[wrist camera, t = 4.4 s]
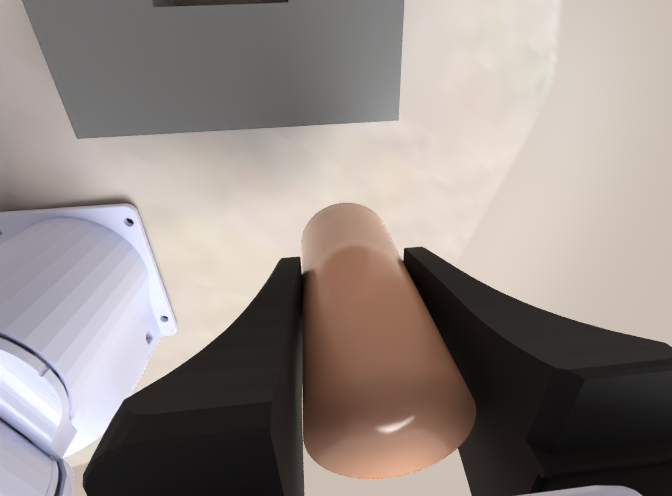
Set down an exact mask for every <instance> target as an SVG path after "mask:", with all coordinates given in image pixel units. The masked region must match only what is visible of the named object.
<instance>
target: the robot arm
mask: <svg viewBox="0 0 672 496" xmlns="http://www.w3.org/2000/svg"><path fill="white" fill-rule="evenodd" d="M127 218H130V219H131V220H132V221H133V222H134V224H131V223H129V222H128V221H127ZM0 230H1V231H2V233H1V232H0V496H73V493H74V485H75V479H74V472H73V470H72V468H71V466H70V465H69V463H67V462H66V461H65V460H64V459H62V458H64V457H66V456H69V455H71V454H73V453H75V452H77V451H79V450H81V449H83V448H84V447H86V446H87V445H89V444H90V443H92V442H93V441H94V440H96V439H97V438H98V437H99V436H101V435H102V434H103V433H104V432H105V433H104V435H103V437H102V439H101V441H100V443H99V445H98V447H97V449H96V450H95V452H94V454H93V456H92V458H91V460H90V462H89V464H88V466H87V468H86V470H85V472H84V474H83V488H84V490H85V492H86V494H87V496H304V473H303V472H304V471H303V439H302V438H303V437H302V384H303V359H302V271H301V261H300V257H290V258H282V259H281V260H280V261H279V262H278V264H277V266H276V267H275V269H274V271H273V272H272V274H271V276H270V277H269V279H268V280H267V282H266V283H265V285H264V286H263V287H262V289H261V290H260V292H259V293H258V294H257V296H256V297H255V298H254V299H253V301H252V302H251V303H250V304H249V306H248V307H247V308H246V309H245V310H244V312H243V313H242V314H241V315H240V316H239V317H238V318H237V319H236V320H235V321H234V322H233V323H232V324H231V325H230V326H229V327H228V328H227V329H226V330H225V331H224V332H223V333H222V334H221V335H219V336H218V337H217V338H216V339H215V340H213V341H212V342H211V343H210V344H209V345H207V346H206V347H205V348H204V349H203V350H201V351H200V352H199V353H197V354H196V355H195V356H193V357H192V358H190V359H189V360H188V361H186V362H185V363H183V364H182V365H180V366H179V367H177V368H176V369H175V370H173V371H172V372H170V373H168V374H167V375H165V376H164V377H162V378H160V379H159V380H157V381H155V382H154V383H152V384H150V385H149V386H147V387H145V388H143V389H142V390H140V391H138V392H137V393H135V394H133V392H134V390H135V388H136V386H137V384H138V382H139V380H140V378H141V376H142V374H143V372H144V370H145V368H146V366H147V364H148V362H149V360H150V358H151V356H152V354H153V352H154V350H155V348H156V346H157V344H158V342H159V340H160V338H161V336H169V335H174V334H175V333H176V331H177V329H178V326H177V323H176V320H175V317H174V315H173V312H172V309H171V306H170V303H169V300H168V297H167V294H166V292H165V289H164V286H163V283H162V280H161V277H160V274H159V271H158V269H157V266H156V263H155V260H154V257H153V254H152V251H151V248H150V246H149V243H148V240H147V237H146V234H145V231H144V228H143V226H142V223H141V220H140V217H139V214H138V211H137V209H136V208H135V207H134V206H133V205H131V204H126V203H124V204H109V205H95V206H80V207H66V208H51V209H37V210H22V211H8V212H0ZM403 262H404V264H405V266H406V268H407V270H408V272H409V274H410V276H411V278H412V280H413V282H414V284H415V286H416V288H417V290H418V292H419V294H420V296H421V297H422V299H423V301H424V303H425V305H426V307H427V309H428V311H429V313H430V315H431V317H432V319H433V321H434V323H435V325H436V327H437V329H438V331H439V333H440V334H441V336H442V338H443V340H444V342H445V344H446V346H447V348H448V350H449V352H450V354H451V356H452V358H453V360H454V362H455V364H456V366H457V368H458V370H459V372H460V373H461V375H462V377H463V379H464V381H465V383H466V385H467V387H468V389H469V391H470V393H471V395H472V397H473V399H474V401H475V405H476V419H475V423H474V426H473V428H472V430H471V432H470V434H469V435H468V437H467V438H466V439H465V441H464V442H463V443H462V444H461V445H460V446H459V447H458V450H459V453H460V457H461V460H462V463H463V466H464V470H465V473H466V476H467V480H468V484H469V487H470V491H471V494H472V496H672V347H671V346H669V345H668V344H666V343H663V342H659V341H654V340H650V339H645V338H641V337H636V336H632V335H627V334H623V333H619V332H614V331H610V330H606V329H603V328H599V327H595V326H592V325H588V324H585V323H581V322H578V321H575V320H571V319H568V318H565V317H562V316H559V315H556V314H553V313H551V312H548V311H545V310H542V309H539V308H536V307H534V306H532V305H529V304H527V303H524V302H522V301H519V300H517V299H515V298H513V297H510V296H508V295H506V294H504V293H501V292H499V291H497V290H495V289H493V288H491V287H490V286H487V285H486V284H484V283H482V282H480V281H478V280H476V279H475V278H473V277H471V276H469V275H468V274H466V273H464V272H463V271H461V270H459V269H458V268H456V267H454V266H453V265H451V264H450V263H448V262H446V261H445V260H443V259H442V258H440V257H438V256H437V255H435V254H434V253H432V252H430V251H429V250H427V249H425V248H423V247H413V248H404V260H403ZM163 316H166V317H168V318H164V317H163ZM132 394H133V395H132Z"/></svg>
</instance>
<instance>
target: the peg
mask: <svg viewBox="0 0 672 496" xmlns="http://www.w3.org/2000/svg"><path fill="white" fill-rule="evenodd" d="M301 256H302V359H303V439H304V440H303V441H304V444H305V447H306V450H307V452H308V453H309V455H310V456H311V458H312V459H313V460H314V461H315V462H316V463H318V464H319V465H320V466H322V467H323V468H325V469H327V470H329V471H331V472H334V473H336V474H339V475H343V476H347V477H352V478H359V479H360V478H361V479H382V478H391V477H397V476H401V475H406V474H410V473H412V472H416V471H419V470H422V469H424V468H427V467H429V466H431V465H433V464H435V463H437V462H439V461H440V460H442V459H444V458H445V457H447V456H448V455H450V454H451V453H452V452H453V451H455V450H456V449H457V448H458V447H459V446H460V445H461V444H462V443H463V442H464V441H465V439H466V438H467V437H468V435H469V434H470V432H471V430H472V428H473V426H474V423H475V419H476V405H475V401H474V399H473V397H472V395H471V393H470V391H469V389H468V387H467V385H466V383H465V381H464V379H463V377H462V375H461V373H460V372H459V370H458V368H457V366H456V364H455V362H454V360H453V358H452V356H451V354H450V352H449V350H448V348H447V346H446V344H445V342H444V340H443V338H442V336H441V334H440V333H439V331H438V329H437V327H436V325H435V323H434V321H433V319H432V317H431V315H430V313H429V311H428V309H427V307H426V305H425V303H424V301H423V299H422V297H421V296H420V294H419V292H418V290H417V288H416V286H415V284H414V282H413V280H412V278H411V276H410V274H409V272H408V270H407V268H406V266H405V264H404V262H403V260H402V259H401V257H400V255H399V253H398V251H397V249H396V247H395V245H394V243H393V241H392V239H391V237H390V235H389V233H388V231H387V229H386V227H385V225H384V224H383V222H382V220H381V219H380V217H379V216H378V215H377V214H376V213H375V212H373V211H372V210H371V209H369V208H367V207H365V206H362V205H359V204H354V203H340V204H335V205H331V206H329V207H326V208H324V209H323V210H321V211H319V212H318V213H317V214H315V215H314V216H313V217H312V218H311V220H310V221H309V222H308V224H307V225H306V227H305V229H304V231H303V235H302V241H301Z"/></svg>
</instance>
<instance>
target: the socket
mask: <svg viewBox="0 0 672 496" xmlns="http://www.w3.org/2000/svg"><path fill="white" fill-rule="evenodd" d="M22 1H23V4H24V6H25V9H26V12H27V14H28V17H29V19H30V22H31V24H32V27H33V29H34V32H35V34H36V37H37V39H38V42H39V44H40V47H41V49H42V52H43V54H44V57H45V59H46V62H47V64H48V67H49V69H50V72H51V74H52V77H53V80H54V82H55V85H56V87H57V90H58V92H59V95H60V97H61V100H62V102H63V105H64V107H65V110H66V112H67V115H68V117H69V120H70V122H71V125H72V127H73V130H74V132H75V135H76V137H77V139H80V138H97V137H115V136H132V135H150V134H167V133H185V132H202V131H220V130H237V129H255V128H273V127H290V126H308V125H325V124H343V123H360V122H378V121H395V120H399V99H400V78H401V56H402V35H403V14H404V0H288V3H259V4H230V5H201V6H176V2H175V0H22Z"/></svg>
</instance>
